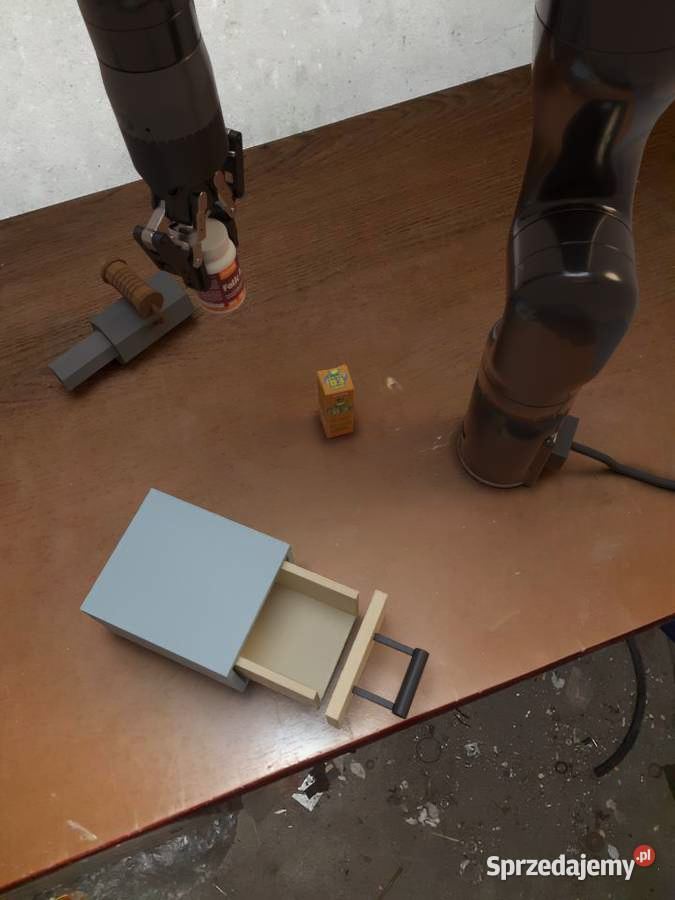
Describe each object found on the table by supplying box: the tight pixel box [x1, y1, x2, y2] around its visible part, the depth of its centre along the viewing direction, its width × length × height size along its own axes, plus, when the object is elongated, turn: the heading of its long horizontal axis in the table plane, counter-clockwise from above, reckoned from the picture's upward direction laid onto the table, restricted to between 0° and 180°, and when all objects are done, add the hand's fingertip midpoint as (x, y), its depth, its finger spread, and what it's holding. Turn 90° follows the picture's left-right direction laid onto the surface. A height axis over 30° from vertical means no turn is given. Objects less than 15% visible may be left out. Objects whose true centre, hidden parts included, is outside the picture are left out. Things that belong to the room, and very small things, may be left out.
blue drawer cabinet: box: [79, 487, 296, 694], centre depth 66 cm, size 15×13×10 cm
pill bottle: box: [182, 217, 246, 315], centre depth 65 cm, size 5×5×8 cm
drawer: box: [232, 561, 430, 730], centre depth 63 cm, size 19×11×8 cm, turn 67°
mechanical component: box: [47, 256, 196, 392], centre depth 80 cm, size 10×18×10 cm, turn 135°
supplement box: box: [315, 364, 355, 439], centre depth 75 cm, size 3×3×10 cm
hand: (214, 265), depth 64 cm, fingers closed on pill bottle, 4 cm apart
